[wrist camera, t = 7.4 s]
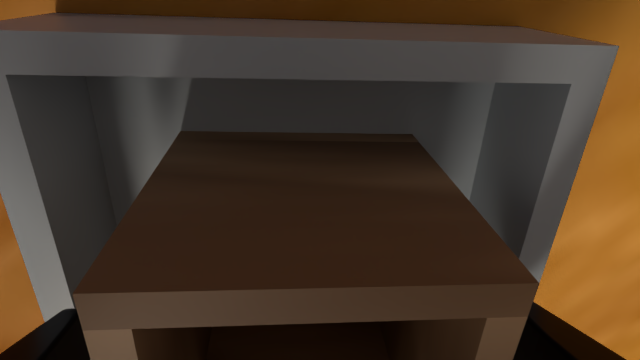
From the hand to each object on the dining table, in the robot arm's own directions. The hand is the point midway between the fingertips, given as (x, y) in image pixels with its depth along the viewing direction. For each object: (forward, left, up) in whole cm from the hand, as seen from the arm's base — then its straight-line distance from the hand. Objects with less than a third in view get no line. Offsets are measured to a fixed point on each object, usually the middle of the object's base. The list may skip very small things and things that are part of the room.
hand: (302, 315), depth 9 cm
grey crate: (0, 0, -4) cm, 4 cm away
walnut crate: (0, 0, -3) cm, 3 cm away
